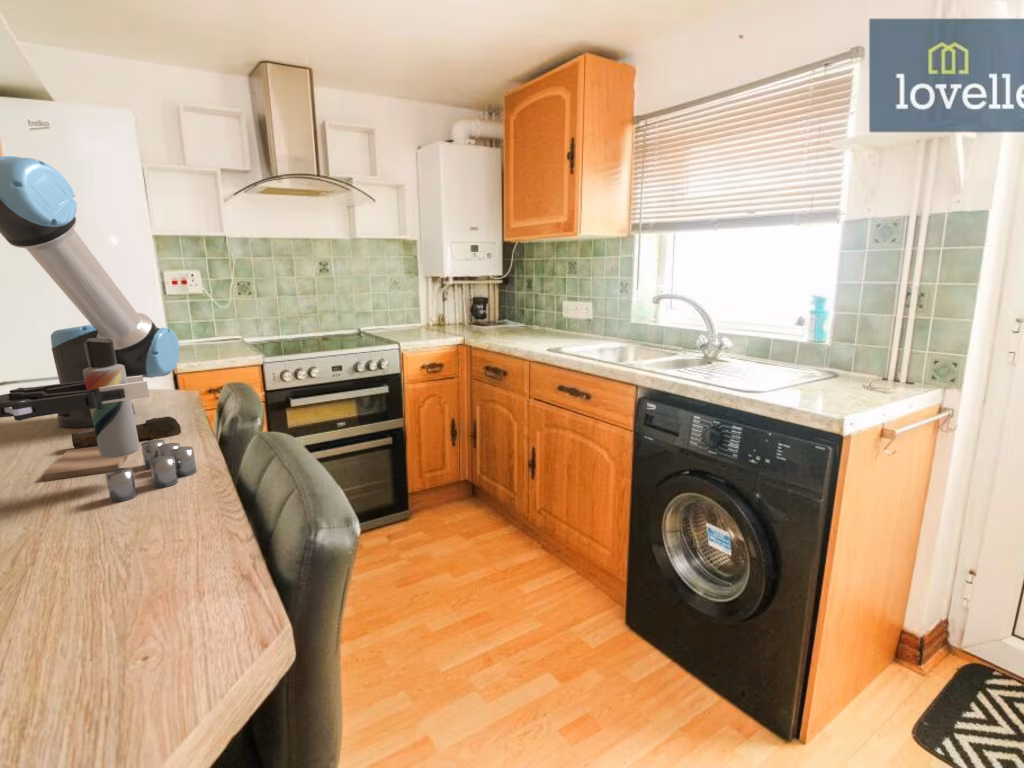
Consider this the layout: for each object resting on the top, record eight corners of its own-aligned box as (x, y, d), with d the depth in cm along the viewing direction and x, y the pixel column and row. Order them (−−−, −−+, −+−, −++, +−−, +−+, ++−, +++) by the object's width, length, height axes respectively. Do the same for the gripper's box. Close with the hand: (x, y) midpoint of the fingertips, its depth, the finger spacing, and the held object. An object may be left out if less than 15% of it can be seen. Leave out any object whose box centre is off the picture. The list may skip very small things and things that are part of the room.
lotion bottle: (113, 447, 96) (91, 336, 92) (147, 446, 97) (126, 335, 92) (92, 459, 91) (67, 341, 86) (127, 457, 91) (105, 340, 87)
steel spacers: (131, 465, 103) (127, 443, 102) (201, 456, 107) (197, 434, 106) (107, 503, 87) (102, 477, 86) (190, 490, 91) (186, 465, 90)
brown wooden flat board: (68, 455, 109) (67, 450, 108) (134, 447, 113) (133, 441, 113) (44, 481, 96) (42, 474, 96) (118, 470, 101) (117, 464, 100)
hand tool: (72, 454, 110) (68, 432, 109) (76, 448, 114) (72, 427, 113) (181, 438, 119) (177, 418, 118) (181, 433, 123) (178, 413, 122)
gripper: (-28, 421, 88) (143, 396, 102) (-43, 452, 74) (156, 417, 89) (-40, 376, 86) (136, 357, 100) (-57, 399, 73) (148, 373, 87)
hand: (145, 385), depth 95 cm, fingers closed on lotion bottle, 5 cm apart
